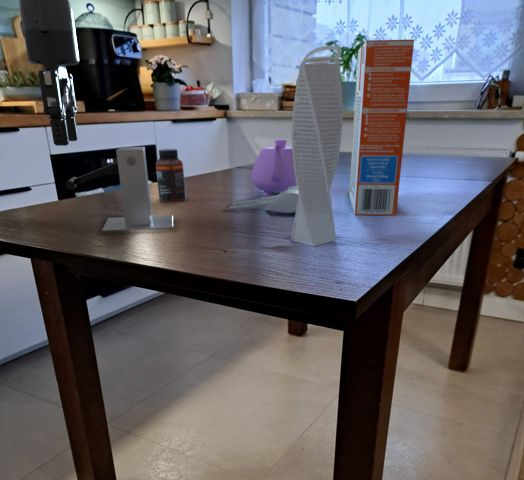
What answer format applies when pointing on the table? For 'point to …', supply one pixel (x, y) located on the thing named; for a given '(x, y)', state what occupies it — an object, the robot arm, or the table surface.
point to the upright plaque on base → (135, 194)
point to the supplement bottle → (170, 176)
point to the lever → (90, 176)
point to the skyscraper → (316, 145)
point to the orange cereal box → (379, 125)
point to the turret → (272, 202)
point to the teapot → (274, 169)
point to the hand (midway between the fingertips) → (66, 143)
